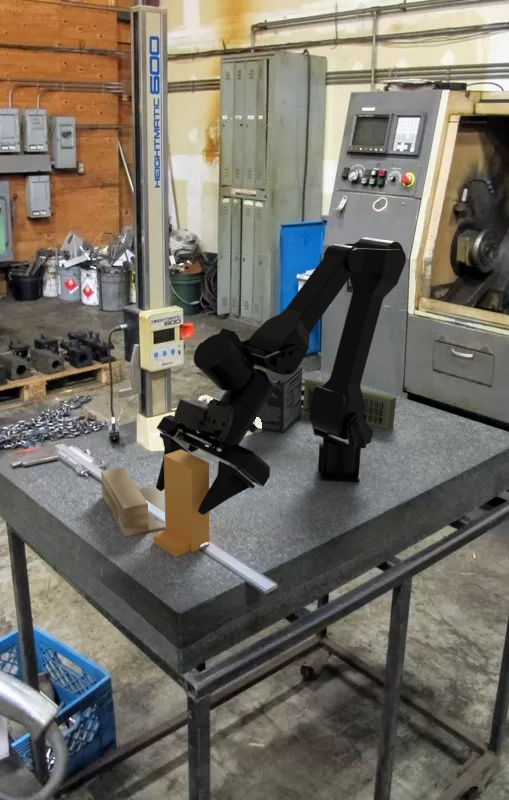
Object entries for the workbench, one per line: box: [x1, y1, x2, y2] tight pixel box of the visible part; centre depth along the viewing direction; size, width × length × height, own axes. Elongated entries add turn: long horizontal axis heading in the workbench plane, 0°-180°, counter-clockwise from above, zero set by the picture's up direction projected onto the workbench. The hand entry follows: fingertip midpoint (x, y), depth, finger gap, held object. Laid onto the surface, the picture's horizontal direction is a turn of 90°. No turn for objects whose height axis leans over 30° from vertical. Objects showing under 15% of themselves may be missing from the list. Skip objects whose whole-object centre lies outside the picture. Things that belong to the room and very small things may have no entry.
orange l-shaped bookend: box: [153, 449, 210, 558], centre depth 104 cm, size 6×6×12 cm
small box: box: [257, 366, 303, 434], centre depth 149 cm, size 11×6×10 cm, turn 157°
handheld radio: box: [301, 376, 397, 431], centre depth 154 cm, size 7×3×25 cm
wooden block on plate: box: [100, 467, 166, 537], centre depth 115 cm, size 10×13×4 cm
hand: (178, 501), depth 104 cm, fingers open, 9 cm apart
